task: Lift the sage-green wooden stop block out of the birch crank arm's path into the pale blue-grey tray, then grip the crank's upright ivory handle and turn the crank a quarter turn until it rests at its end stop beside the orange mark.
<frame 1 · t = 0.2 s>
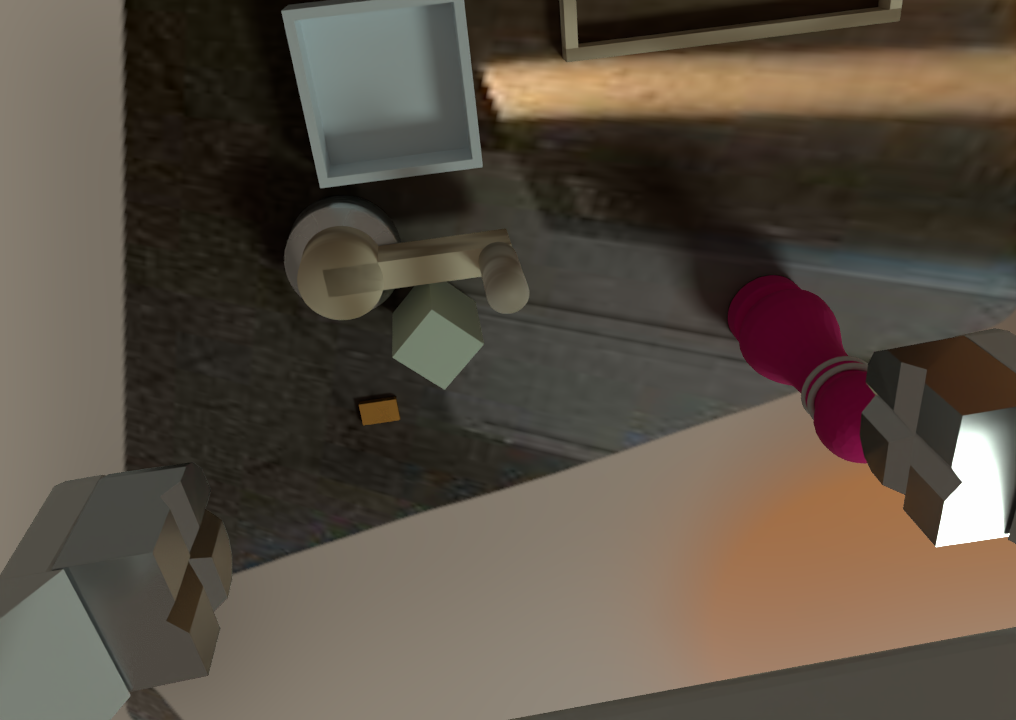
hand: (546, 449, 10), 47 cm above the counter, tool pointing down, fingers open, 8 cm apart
pepper mill: (763, 308, 65), on the counter
stop block: (434, 307, 61), on the counter
tray: (388, 83, 53), on the counter
crank base: (345, 248, 58), on the counter
crank: (408, 280, 52), point 7 cm above the counter, hinge at 90.0°
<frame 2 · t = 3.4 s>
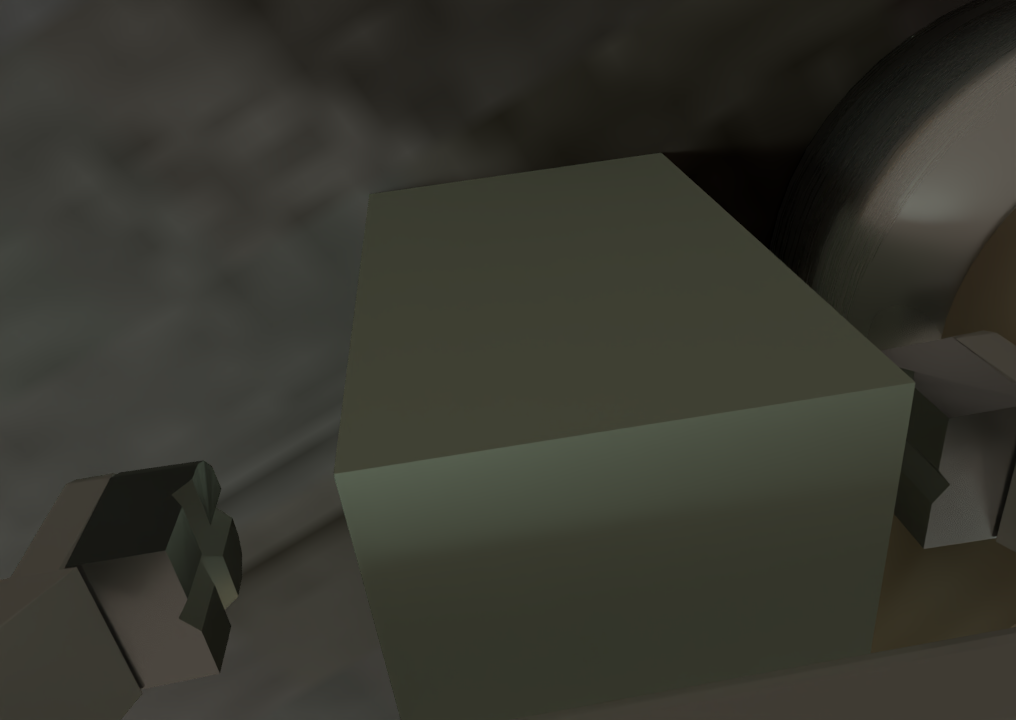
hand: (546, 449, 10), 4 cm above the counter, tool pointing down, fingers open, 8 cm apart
stop block: (530, 305, 13), on the counter
crank base: (995, 237, 14), on the counter
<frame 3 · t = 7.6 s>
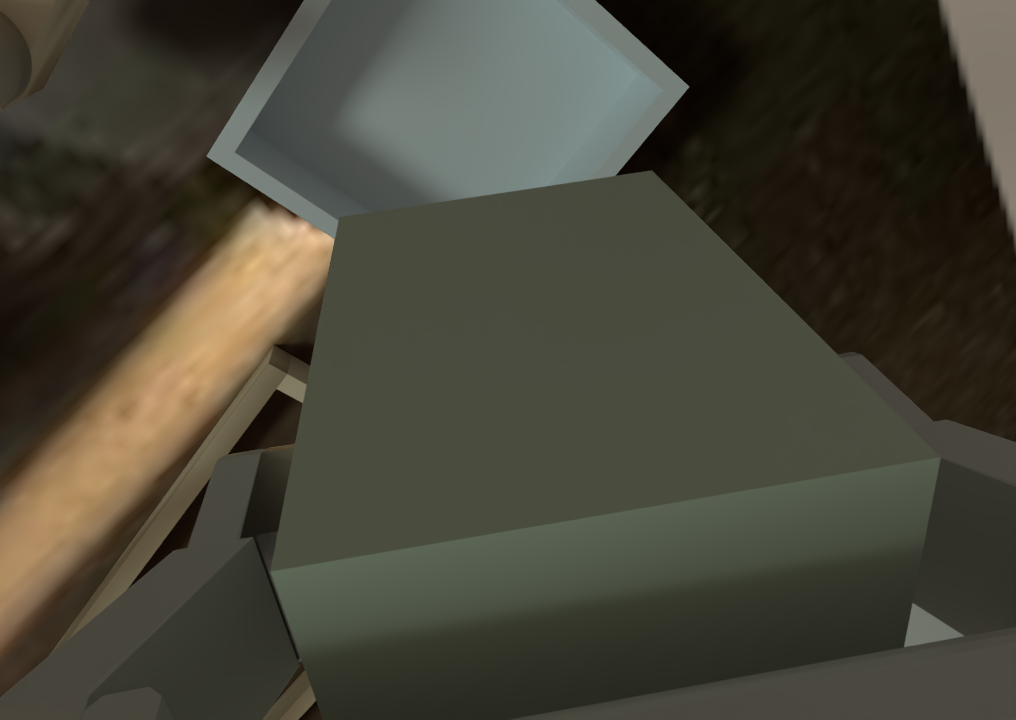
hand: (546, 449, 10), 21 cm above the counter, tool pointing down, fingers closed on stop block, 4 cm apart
stop block: (514, 332, 12), point 18 cm above the counter, touching gripper
tray: (445, 98, 28), on the counter
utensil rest: (257, 582, 37), on the counter
when the fingers open (5 cm above the counter, at t = 11.0 s): stop block drops 1 cm, resting on tray.
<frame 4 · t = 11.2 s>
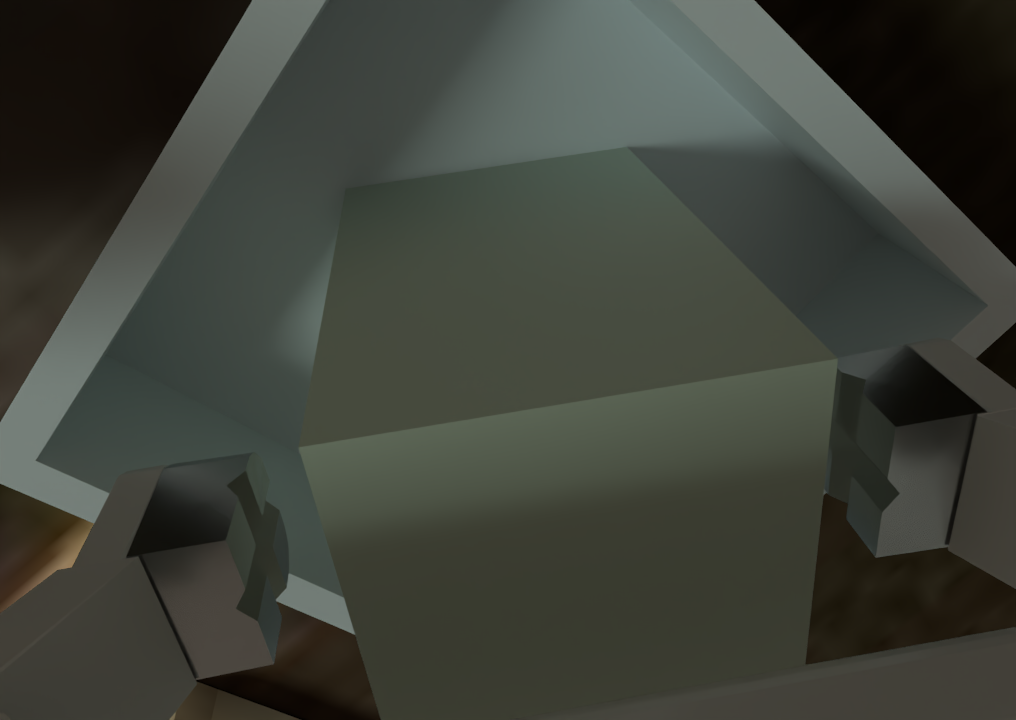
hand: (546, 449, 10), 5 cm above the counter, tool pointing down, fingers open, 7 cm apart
stop block: (503, 295, 14), resting on tray
tray: (498, 280, 14), on the counter
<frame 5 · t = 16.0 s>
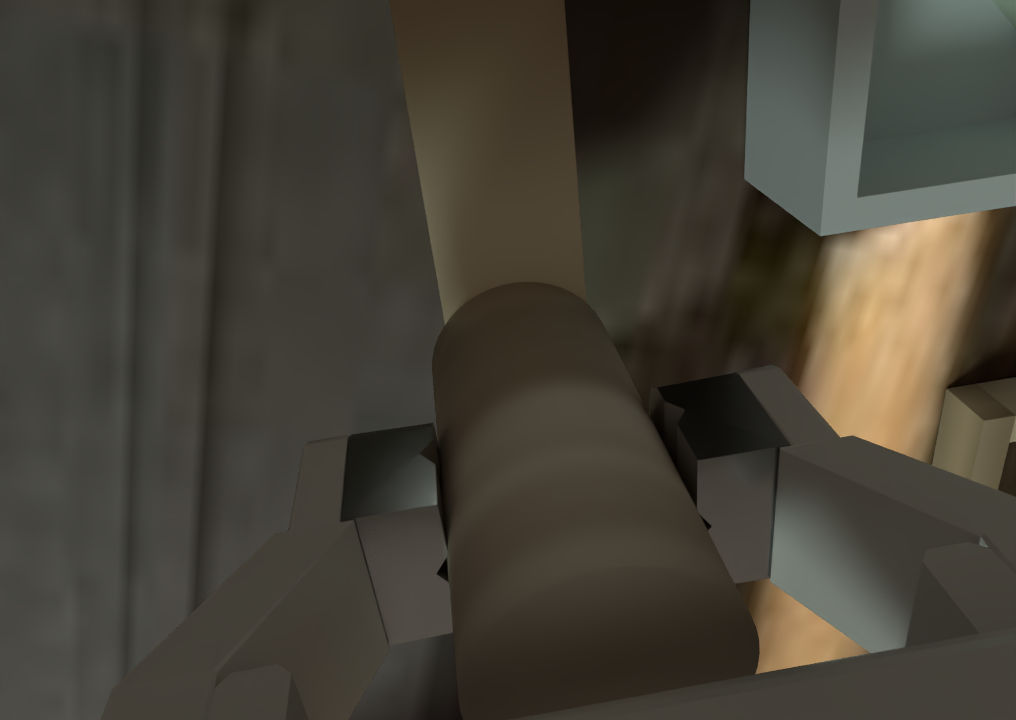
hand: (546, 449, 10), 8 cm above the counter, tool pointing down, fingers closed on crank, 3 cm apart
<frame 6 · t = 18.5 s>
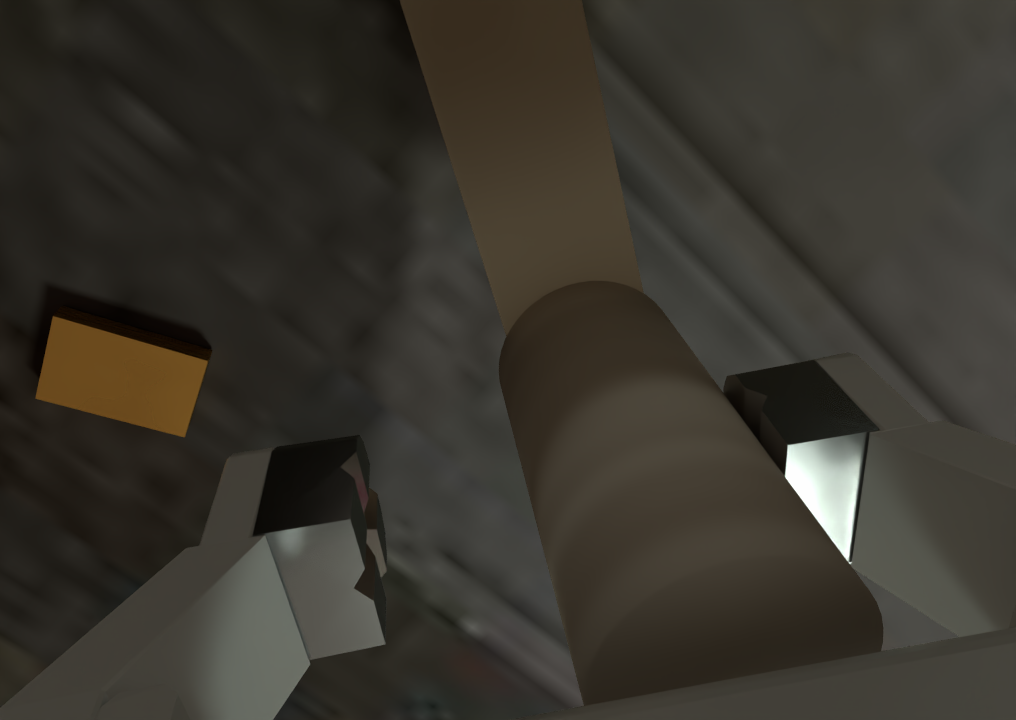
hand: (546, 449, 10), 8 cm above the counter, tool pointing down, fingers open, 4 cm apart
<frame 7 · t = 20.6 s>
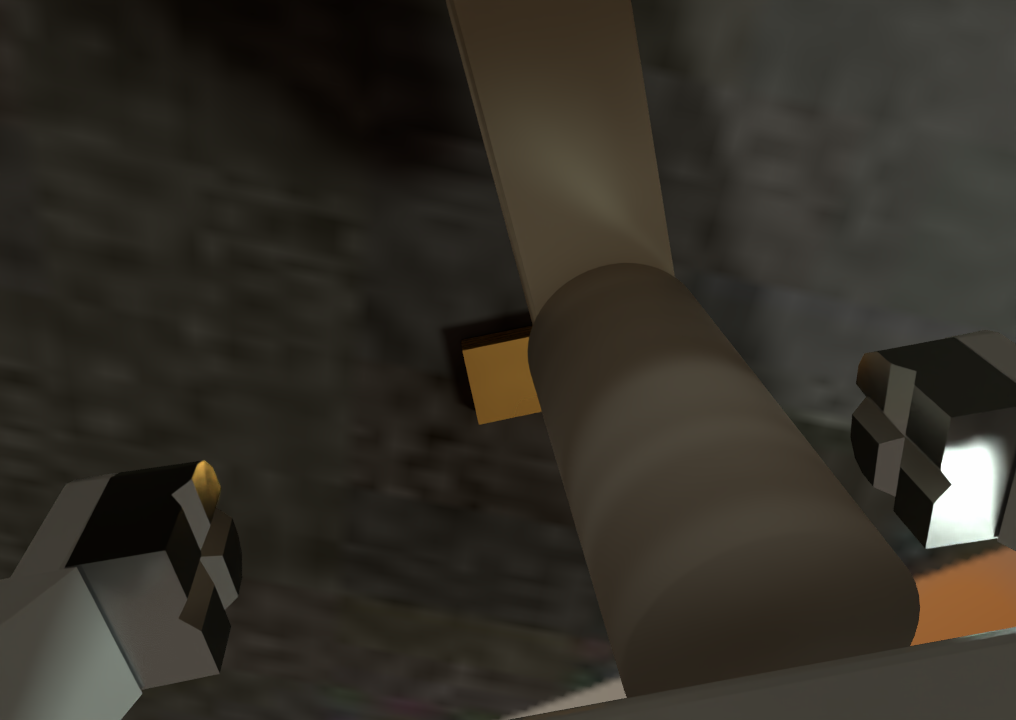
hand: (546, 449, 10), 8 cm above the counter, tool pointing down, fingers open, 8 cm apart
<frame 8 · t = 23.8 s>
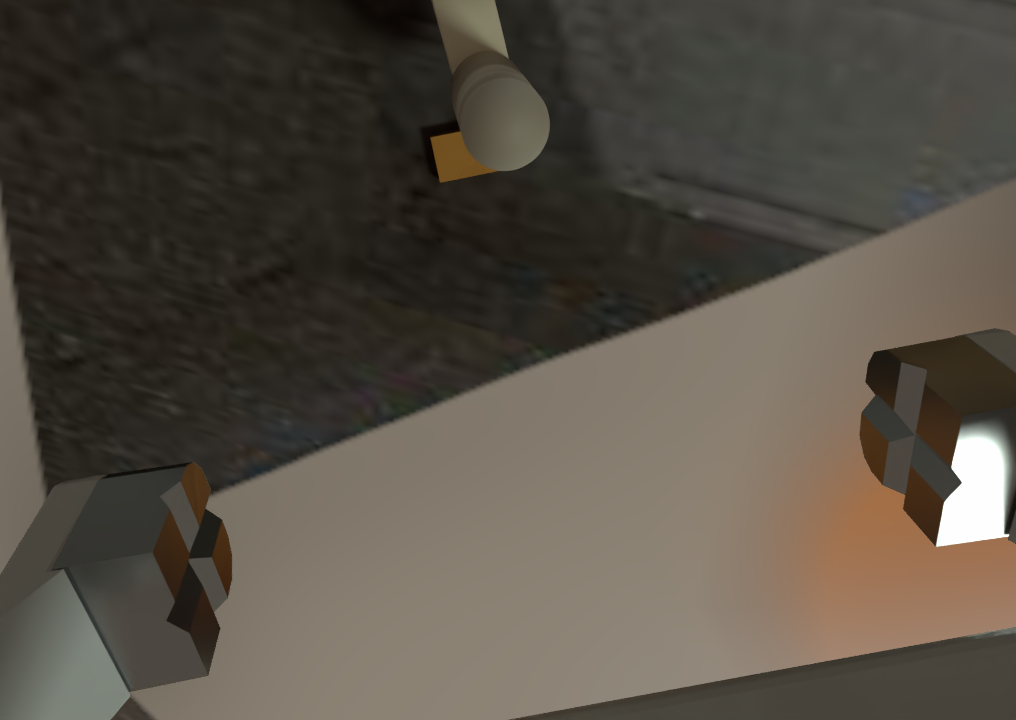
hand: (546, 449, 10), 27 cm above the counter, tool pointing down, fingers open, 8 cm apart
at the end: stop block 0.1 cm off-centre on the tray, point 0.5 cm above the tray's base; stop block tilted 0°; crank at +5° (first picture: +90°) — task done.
